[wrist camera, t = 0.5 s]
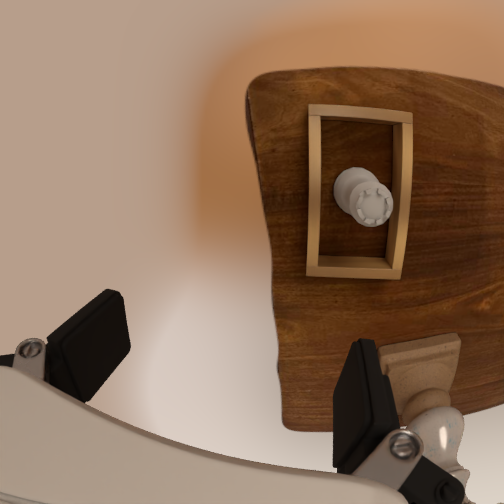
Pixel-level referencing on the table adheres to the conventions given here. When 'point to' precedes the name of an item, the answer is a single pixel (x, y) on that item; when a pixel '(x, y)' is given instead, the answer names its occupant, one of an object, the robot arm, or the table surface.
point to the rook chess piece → (363, 197)
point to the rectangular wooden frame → (400, 194)
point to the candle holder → (428, 396)
